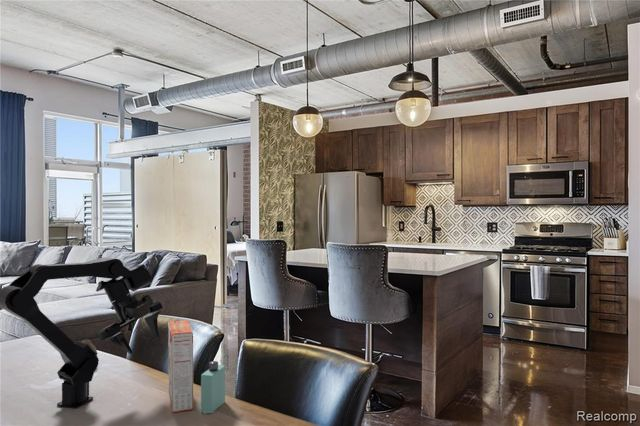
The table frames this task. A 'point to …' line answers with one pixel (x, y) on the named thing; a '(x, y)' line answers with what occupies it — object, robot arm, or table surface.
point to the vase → (89, 345)
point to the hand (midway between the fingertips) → (145, 345)
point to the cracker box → (180, 365)
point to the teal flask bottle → (212, 387)
